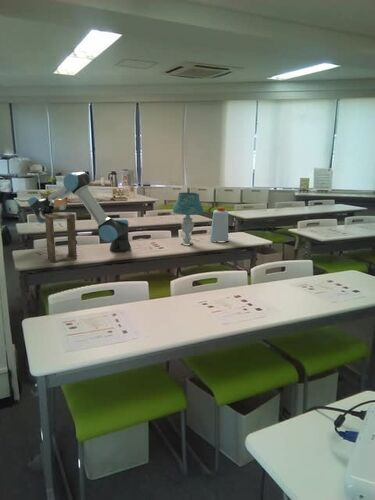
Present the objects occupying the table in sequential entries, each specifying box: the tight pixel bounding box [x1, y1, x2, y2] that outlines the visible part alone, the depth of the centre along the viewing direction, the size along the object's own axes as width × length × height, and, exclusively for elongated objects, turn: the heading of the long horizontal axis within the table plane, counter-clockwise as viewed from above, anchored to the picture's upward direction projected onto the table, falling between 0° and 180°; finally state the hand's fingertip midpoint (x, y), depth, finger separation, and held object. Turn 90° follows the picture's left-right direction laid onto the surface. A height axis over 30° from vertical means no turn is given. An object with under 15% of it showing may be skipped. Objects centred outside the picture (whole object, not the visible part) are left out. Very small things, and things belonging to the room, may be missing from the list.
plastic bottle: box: [209, 206, 229, 242], centre depth 304 cm, size 15×15×28 cm
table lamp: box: [172, 192, 204, 245], centre depth 288 cm, size 24×24×40 cm
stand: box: [44, 211, 78, 263], centre depth 241 cm, size 16×10×30 cm, turn 127°
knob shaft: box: [48, 198, 67, 211], centre depth 240 cm, size 7×22×6 cm, turn 37°
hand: (54, 199), depth 241 cm, fingers closed on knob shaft, 3 cm apart
